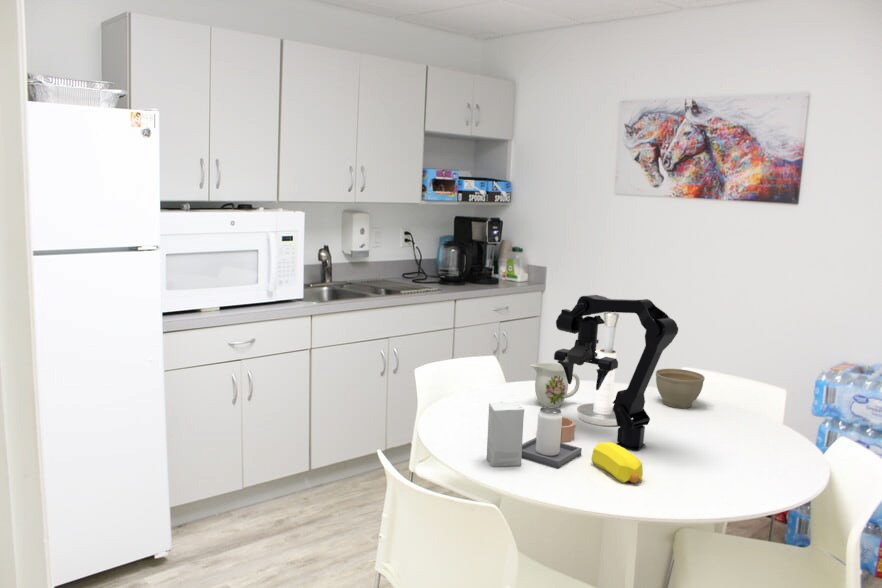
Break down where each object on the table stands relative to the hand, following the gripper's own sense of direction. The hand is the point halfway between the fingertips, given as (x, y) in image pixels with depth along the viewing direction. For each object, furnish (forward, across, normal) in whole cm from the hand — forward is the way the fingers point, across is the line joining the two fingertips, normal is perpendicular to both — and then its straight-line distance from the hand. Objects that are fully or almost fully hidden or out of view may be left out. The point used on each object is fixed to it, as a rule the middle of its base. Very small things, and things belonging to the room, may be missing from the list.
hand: (583, 387), depth 225 cm
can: (+12, +4, -28) cm, 31 cm away
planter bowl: (+13, +13, +49) cm, 52 cm away
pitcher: (+13, -18, +16) cm, 27 cm away
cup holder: (+13, -2, -12) cm, 18 cm away
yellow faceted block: (+14, +23, -26) cm, 37 cm away
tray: (+13, +4, -28) cm, 31 cm away
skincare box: (+13, -2, -41) cm, 43 cm away
